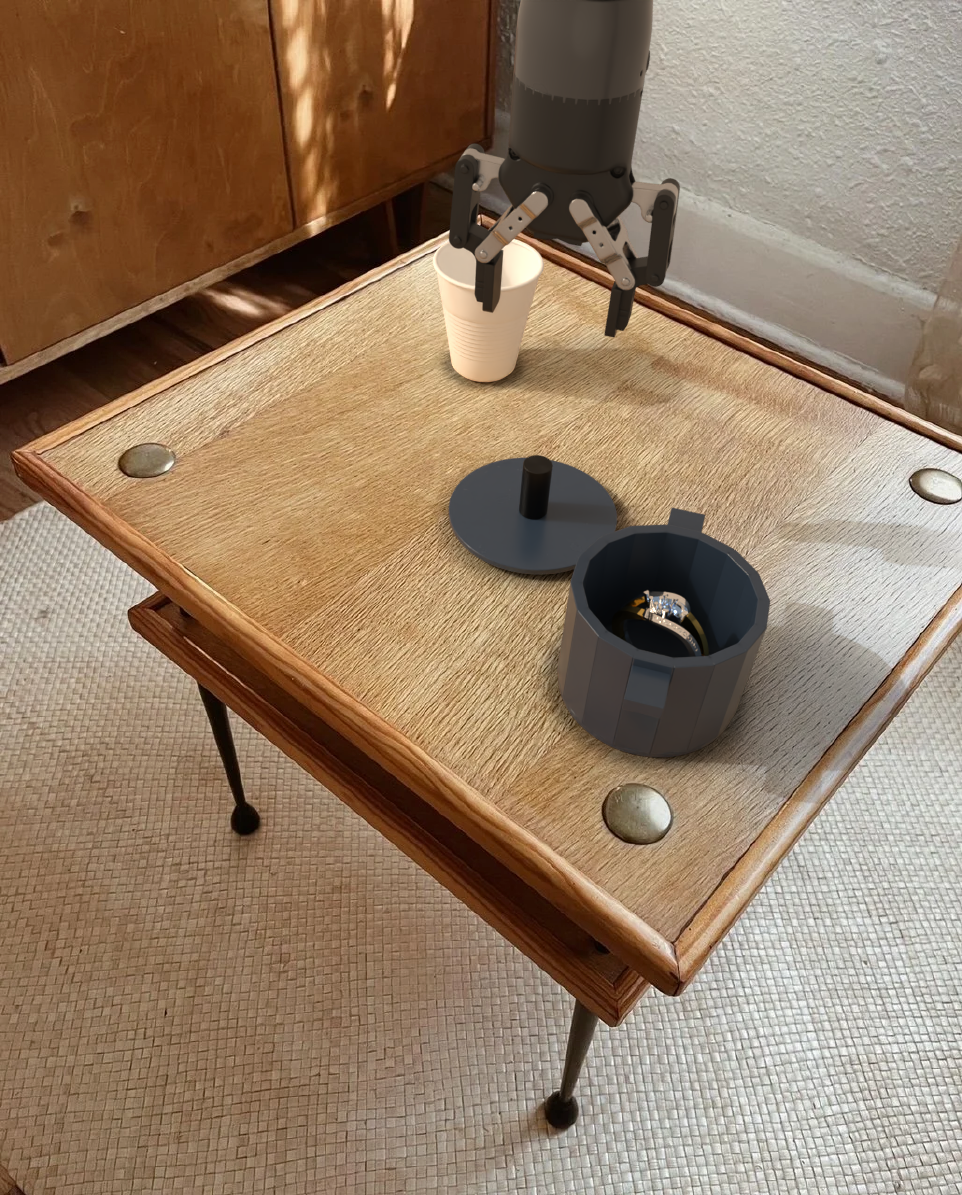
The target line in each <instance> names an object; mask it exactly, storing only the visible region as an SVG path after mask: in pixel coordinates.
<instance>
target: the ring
mask: <svg viewBox="0 0 962 1195" xmlns="http://www.w3.org/2000/svg"><path fill="white" fill-rule="evenodd" d="M644 603H645V605H646V606H649V608H646V609H645V610H644V609H642V608H639V607H636V606H638V605H641V604H644ZM628 619H641V620H647V621H649V622H651V623H653V624H655V625H657V626H659V627H662V628H664V629H666V630H667V631H669V632H671V633H673V634H674V635H676V636H677V637H678V638H679V639H680V640H681V641H682V642H683V643H684V644H685V646H686V647H687V649H688V652H689V655H690V657H697V656H709V649H708V643H707V640H706V637H705V634H704V632H703V630H702V628H701V626H700V624H699V623H698V621H697V620H696V619H695V617H694V616H693V615H692V614H691V612H690V605H689V603H688V602H687V601H686V600H685V599H684V598H683V597H681V596H679V595H677V594H674V593H669V592H649V591H645V592H644V593H641V594H638V595H636V596H635V597H633V598H632V599H631V600H629V601H628V602H627V603H626V604H625V605H624V606H623V607H622V608H621V609H620V610H619V611H617V612H616V613H615V614H614V616H613V618H612V631H613V634H614V635H615V636H617V637H619V638H620V639H622V640H624V641H626V642H627V643H629V644H631V645H632V646H633V644H632V642H631V640H630V638H629V634H628V630H627V620H628ZM671 621H676V623H678V624H681V625H682V626H683V627H684V628H685V629H684V628H682V627H681V626H679V625H677V624H675V623H674V622H671Z"/></svg>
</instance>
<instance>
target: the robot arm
mask: <svg viewBox="0 0 962 1195" xmlns="http://www.w3.org/2000/svg"><path fill="white" fill-rule="evenodd" d="M653 17H654V0H520V3H519V8H518V14H517V20H516V30H515V42H514V43H515V45H514V60H513V74H512V87H511V88H512V89H511V102H510V114H509V116H510V117H509V129H508V144H507V147H508V148H507V153H506V156H505V158H504V157H500V156H496V155H492V154H489V153H488V154H487V153H485V149H484V148H483V146H481V145H480V144H479V143H471V144H470V145H468V146H467V148H466V149H465V150H464V152H463V153H462V154H461V156H460V157H459V159H458V160H457V162H456V163H455V165H454V166H455V168H454V179H453V188H452V189H453V190H452V198H451V199H452V200H451V211H450V220H449V221H450V223H449V232H448V242H450V244H451V245H452V246H453V247H454V248H457V249H461V248H465V249H466V250H468V251H470V252H471V253H472V254H473V255H474V256H475V259H476V275H475V297H476V300H477V302H482V303H483V304H482V310H483V311H486V312H491V313H493V312H494V310H495V308H496V306H497V304H498V302H499V299H500V293H501V279H502V265H503V251H504V250H502V249H503V248H504V247H505V246H506V245H508V244H509V243H510V242H511V241H512V240H513V239H516V238H517V236H518V235H519V234H521V233H522V232H523V231H524V230H525V229H526V230H527V231H529V232H530V233H531V234H533V238H535V239H540V240H559V241H561V242H564V243H566V244H568V245H571V246H577V247H582V245H583V244H587V243H589V245H590V246H591V248H592V250H593V252H594V253H595V255H596V257H597V259H598V260H599V262H600V263H601V264H604V265H605V266H606V268H607V270H608V272H609V273H610V275H611V277H612V279H613V284H612V287H611V290H610V296H609V302H608V307H607V308H608V309H607V316H606V322H605V328H604V336H605V337H609V338H614V339H615V338H616V336H617V332H618V331H620V332H621V331H622V332H624V331H625V330H626V328H627V327H628V325H629V322H630V319H631V316H632V312H633V306H634V301H635V295H636V289H637V288H638V287H640V286H644V285H648V286H650V287H652V288H653V287H654V288H657V287H660V286H662V285H663V284H664V282H665V279H666V275H667V271H668V269H669V267H670V264H671V259H672V253H673V252H672V251H673V243H674V237H675V228H676V223H677V222H676V221H677V214H678V206H679V199H680V191H681V185H680V183H679V182H678V180H677V179H676V178H672V177H668V178H666V179H663V181H662V182H661V183H651V182H643V181H636V179H635V176H634V174H633V167H632V165H633V157H634V156H633V155H634V150H635V143H636V137H637V132H638V123H639V118H640V111H641V105H642V100H643V92H644V88H645V87H644V86H645V79H646V74H647V71H648V70H649V67H650V60H651V51H650V50H651V42H652V33H653V23H654V22H653V20H654V18H653ZM494 179H498V182H499V186H500V187H501V188H502V191H503V192H504V194H505V195H506V197H507V200H509V202H510V206H508V207H507V208H506V210H505V211H504V212H503V213H502V215H500V217H499V218H498V219H497V220H496V221H495V222H494V223H493V224H492V225H491V226H490V227H489V228H486V227H484V226H482V225H480V224H479V223H478V219H479V218H478V217H479V211H480V210H479V209H480V200H481V193H482V192H484V191H486V190H487V189H488V187H489V185H490V184H491V183H492V180H494ZM631 203H634V204H635V205H637V206H638V207H639V209H640V215H641V218H642V220H643V221H644V222H645V223H649V224H651V226H650V235H649V244H648V252H647V256H642V257H640V256H639V255H638V253H637V251H636V249H635V247H634V246H633V243H632V242H631V240H630V238H629V232H628V229H627V227H626V225H625V223H624V221H623V220H622V217H621V215H622V214H623V213H624V211H626V210H627V209H628V208H629V207H630V206H631Z"/></svg>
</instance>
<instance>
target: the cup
mask: <svg viewBox="0 0 962 1195" xmlns="http://www.w3.org/2000/svg"><path fill="white" fill-rule="evenodd" d="M502 250H504V251H503V265H502V279H501V293H500V299H499V302H498V304H497V306H496V308H495V310H494V312H493V313H491V312H486V311H483V310H482V304H483V303H482V302H477V300H476V297H475V275H476V259H475V256H474V255H473V254H472V253H471V252H470V251H468V250H466V249H465V248H461V249H457V248H454V247H453V246H452V245H451V244H450V242H449V241H447V242H445V243H443V244H442V245H441V246H440V247H438V248H437V250H436V251H435V252H434V255H433V258H432V266H433V268H434V270H435V272H436V275H437V281H438V282H437V283H438V288H439V294H440V295H439V296H440V300H441V307H442V312H443V316H444V318H443V319H444V324H445V330H446V335H447V343H448V350H449V355H450V361H451V365H452V367H453V369H454V371H455V372H456V373H457V374H459V375H460V376H462V377H463V378H465V379H467V380H470V381H474V382H477V383H478V382H479V383H491V382H496V381H500V380H502V379H504V378H506V377H507V376H509V375H510V374H511V373H512V372H514V370H515V368H516V364H517V361H518V358H519V354H520V350H521V346H522V345H521V344H522V342H523V338H524V334H525V330H526V327H527V323H528V320H529V316H530V312H531V308H532V305H533V302H534V299H535V298H534V297H535V294H536V290H537V287H538V284H539V280H540V277H541V276H542V274H543V272H544V269H545V263H544V262H545V261H544V259H543V257H542V255H541V253H540V252H539V251H538V250H536V248H534V247H533V246H531V245H529V244H528V243H526V242H523V241H521V240H519V239H516V238H514V239H513V240H512V241H511V242H510V243H509V244H508V245H506V246H505V247H504V248H503V249H502Z"/></svg>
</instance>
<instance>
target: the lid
mask: <svg viewBox="0 0 962 1195" xmlns="http://www.w3.org/2000/svg"><path fill="white" fill-rule="evenodd" d="M448 521H449V525H450V528H451V530H452V532H453V535H454V536H455V537H456V539H457V541H458V542H459V543H460V544H461V546H462V547H463V548H465V549H466V550H467V551H468V552H469V553H470V554H471V555H473V556H475V557H476V558H477V559H479V560H481V561H482V562H485V563H487V564H488V565H491V566H494V567H496V568H498V569H501V570H505V571H508V572H512V573H518V574H524V575H553V574H560V573H565V572H570V571H574V569H575V566H576V563H577V560H578V557H579V556H580V555H581V554H582V553H583V552H584V551H585V550H586V549H587V548H589V547H590V546H591V545H592V544H593V543H594V542H595V541H596V540H597V539H598V538H599V537H601V536H604V535H607V534H609V533H612V532H615V531H617V527H618V526H617V525H618V513H617V508H616V504H615V502H614V500H613V498H612V497H611V495H610V493H609V492H608V491H607V489H605V487H604V486H603V485H602V484H601V483H600V482H599V481H598V480H597V479H596V478H594V477H593V476H591V475H590V474H588V473H587V472H584V471H583V470H581V469H579V468H577V467H575V466H574V465H570V464H567V463H564V462H561V461H557V460H553V459H550V458H548V457H546V456H544V455H541V454H540V455H539V454H534V455H530V456H528V457H514V458H513V457H512V458H505V459H500V460H497V461H491V462H490V463H486V464H483V465H481V466H480V467H477V468H476V469H474V470H473V471H471V472H470V473H468V474H466V476H464V478H462V479H461V480H460V481H459V483H458V484H457V485H456V486H455V488H454V489H453V491H452V492H451V496H450V499H449V502H448Z"/></svg>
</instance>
